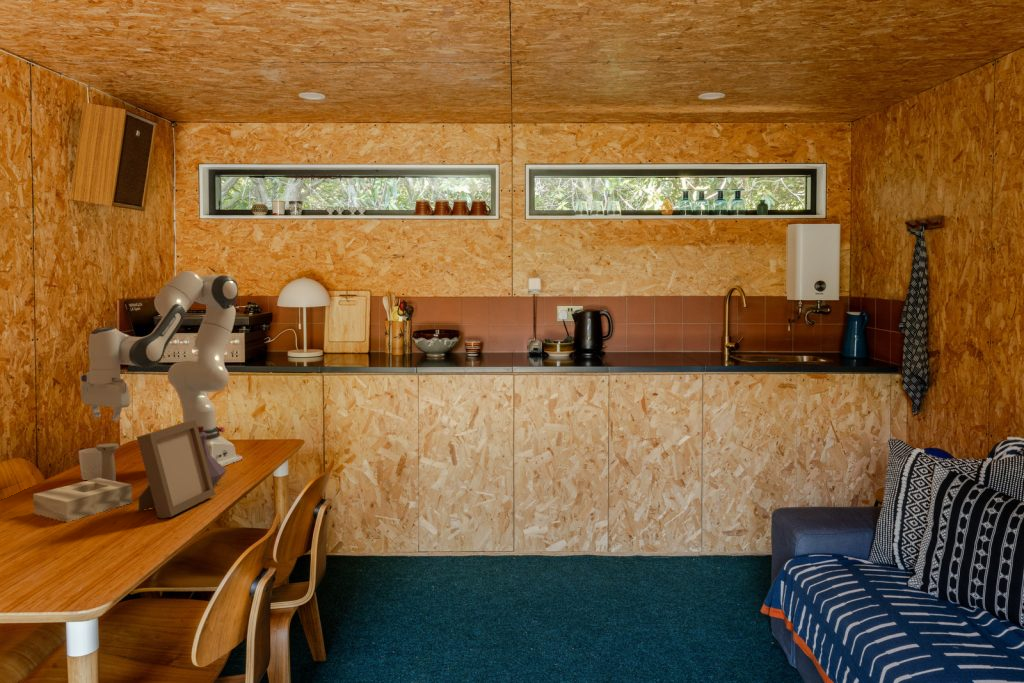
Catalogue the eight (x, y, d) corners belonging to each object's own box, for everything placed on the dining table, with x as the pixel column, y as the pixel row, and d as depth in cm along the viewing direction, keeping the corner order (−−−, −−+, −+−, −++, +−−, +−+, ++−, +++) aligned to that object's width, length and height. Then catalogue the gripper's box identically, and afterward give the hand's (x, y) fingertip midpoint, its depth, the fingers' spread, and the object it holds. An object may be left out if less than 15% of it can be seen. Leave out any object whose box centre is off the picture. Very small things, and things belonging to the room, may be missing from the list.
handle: (116, 491, 236) (114, 446, 235) (95, 492, 236) (93, 446, 235) (122, 487, 241) (121, 443, 240) (102, 487, 241) (100, 443, 239)
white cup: (111, 476, 254) (110, 448, 254) (91, 482, 247) (90, 453, 246) (94, 474, 257) (93, 447, 256) (74, 480, 250) (73, 451, 249)
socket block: (99, 496, 231) (98, 477, 231) (131, 503, 224) (131, 484, 224) (34, 513, 214) (33, 494, 213) (67, 522, 206) (66, 501, 206)
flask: (173, 494, 234) (171, 433, 232) (175, 481, 249) (173, 424, 247) (228, 489, 240) (226, 429, 238) (226, 476, 255) (224, 420, 253)
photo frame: (215, 497, 230) (211, 420, 228) (171, 519, 209) (167, 434, 207) (173, 495, 233) (169, 419, 231) (126, 517, 212) (121, 433, 210)
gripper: (134, 378, 234) (135, 420, 234) (95, 374, 243) (96, 414, 244) (116, 380, 228) (117, 423, 229) (76, 376, 237) (77, 417, 238)
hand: (106, 419), depth 236 cm, fingers open, 8 cm apart
